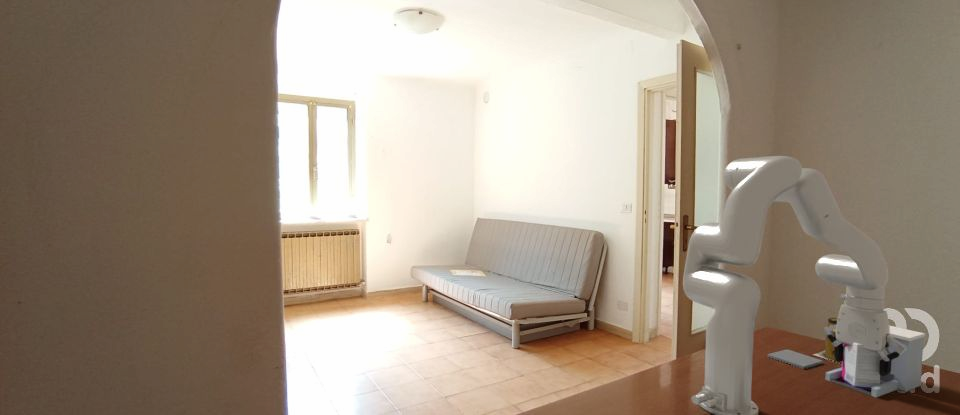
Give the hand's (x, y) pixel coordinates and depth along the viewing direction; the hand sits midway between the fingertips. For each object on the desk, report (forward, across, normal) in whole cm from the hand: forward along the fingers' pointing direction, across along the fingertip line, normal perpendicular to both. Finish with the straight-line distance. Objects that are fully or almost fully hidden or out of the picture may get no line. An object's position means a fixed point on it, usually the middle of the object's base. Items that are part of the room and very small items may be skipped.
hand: (861, 367), depth 116 cm
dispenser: (+5, 0, +4) cm, 6 cm away
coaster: (+4, -17, +2) cm, 18 cm away
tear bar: (+4, 0, -5) cm, 7 cm away
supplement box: (+5, 0, 0) cm, 5 cm away
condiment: (+5, -13, +15) cm, 20 cm away
